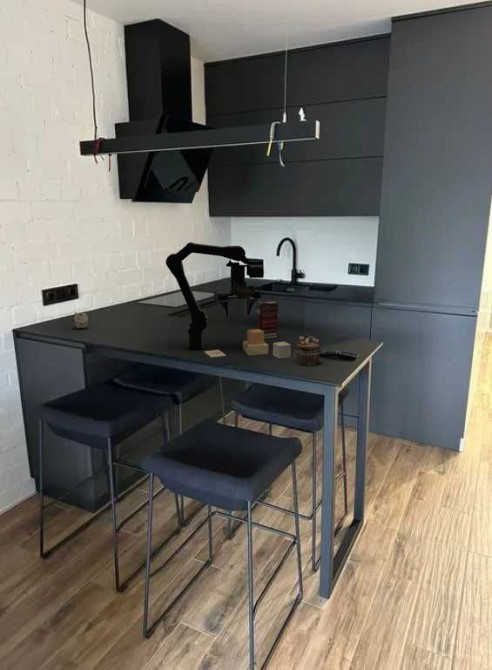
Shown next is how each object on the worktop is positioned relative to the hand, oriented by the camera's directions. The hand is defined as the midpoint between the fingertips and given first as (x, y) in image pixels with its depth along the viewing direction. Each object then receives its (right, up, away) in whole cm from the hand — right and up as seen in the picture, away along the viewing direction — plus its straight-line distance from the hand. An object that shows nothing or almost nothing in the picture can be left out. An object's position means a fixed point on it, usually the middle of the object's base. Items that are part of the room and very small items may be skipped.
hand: (237, 316), depth 192 cm
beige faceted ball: (-74, -5, +32) cm, 81 cm away
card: (-9, -15, -7) cm, 19 cm away
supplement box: (+13, -9, +21) cm, 26 cm away
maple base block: (+7, -15, -3) cm, 17 cm away
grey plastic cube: (+17, -16, -8) cm, 25 cm away
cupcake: (+26, -18, -16) cm, 36 cm away
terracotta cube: (+7, -11, -4) cm, 14 cm away
